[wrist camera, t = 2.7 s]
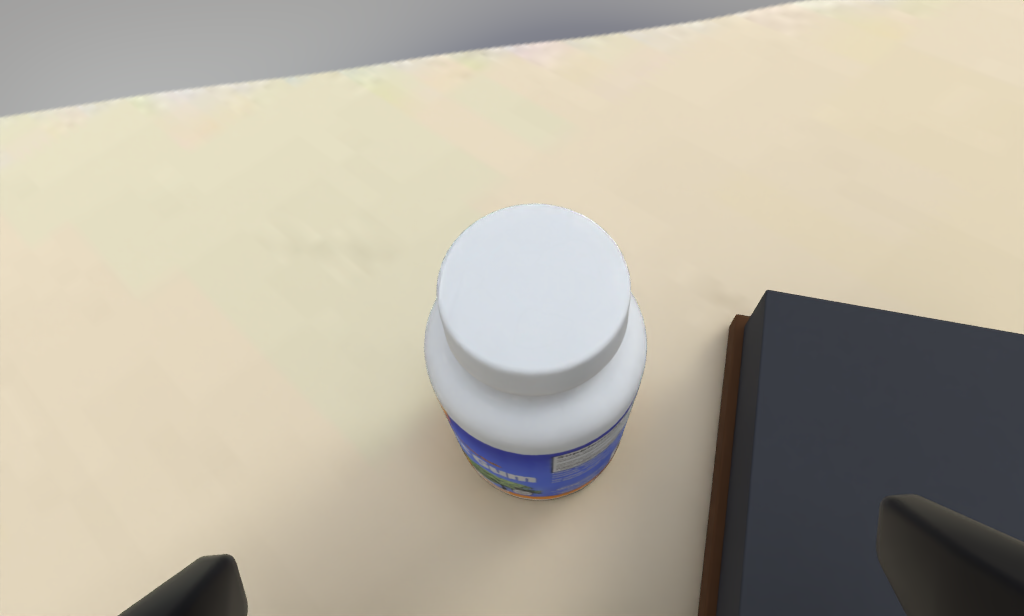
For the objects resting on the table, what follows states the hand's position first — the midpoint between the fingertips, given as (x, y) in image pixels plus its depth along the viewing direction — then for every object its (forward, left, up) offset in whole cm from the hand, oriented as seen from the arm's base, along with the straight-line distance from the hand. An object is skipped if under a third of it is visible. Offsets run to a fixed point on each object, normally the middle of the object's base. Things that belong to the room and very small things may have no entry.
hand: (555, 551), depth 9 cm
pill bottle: (+4, +3, -12) cm, 13 cm away
